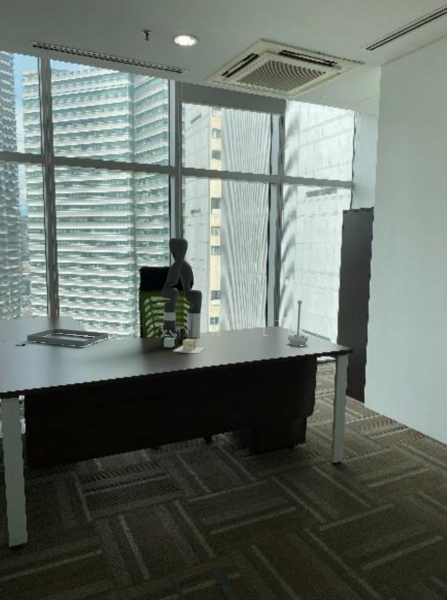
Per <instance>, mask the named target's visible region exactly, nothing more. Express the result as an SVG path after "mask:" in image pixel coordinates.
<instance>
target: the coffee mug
mask: <svg viewBox="0 0 447 600" xmlns="http://www.w3.org/2000/svg"><path fill="white" fill-rule="evenodd" d="M175 328H176V329H180V338H178V339H177V344H183V340H185V338H187V336H188V335H189V334H190V330H189V329H187V328H186V329H185V326H180V325H177V326H176V325H175ZM187 330H189V334H188V335H187V334H186V335H185V332H187ZM175 333H176V335H177V332H176V331H175ZM171 336H172V335H171ZM171 338H174V337H173V336H172V337H171Z"/></svg>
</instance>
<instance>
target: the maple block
mask: <svg viewBox="0 0 447 600" xmlns="http://www.w3.org/2000/svg"><path fill="white" fill-rule="evenodd" d="M196 341H197V339H196V338H186V339H185V338H184V339H183V342H182V346H183V350H185V351H193V350H195V349H196V347H197V346H196V345H197V344H196V343H197V342H196Z"/></svg>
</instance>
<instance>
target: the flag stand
mask: <svg viewBox="0 0 447 600" xmlns="http://www.w3.org/2000/svg"><path fill="white" fill-rule="evenodd" d="M297 304H298V306H297V307H298V308H297V324H296V325H297V326H296V329H297V330H296V334H294V335H292V334H289V335H288V337H287V339H288V341H289V343H290V344H292V345H291V346H294V345H305V344H306V345H307V342H308V340H309V337H308V336H307V335H306V336H305V335H303V334H301V335H300V328H301V327H300V325H301V308H302V306H301V305H302V304H303V301H302V300H300V299H299V300H298V301H297ZM290 344H289V345H290ZM306 345H305V346H306Z"/></svg>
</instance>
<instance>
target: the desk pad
mask: <svg viewBox="0 0 447 600" xmlns="http://www.w3.org/2000/svg"><path fill="white" fill-rule="evenodd" d="M206 348H207V347H199V346H196V349H195V350H193V351H185V350H183V345H181V346H179V347H177V348H175V349H173V350H172V352H173V353H174V352H175V353H182V354H183V353H184V354H194V355H199V354H201V353H202V352H204V351H205V350H206Z"/></svg>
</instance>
